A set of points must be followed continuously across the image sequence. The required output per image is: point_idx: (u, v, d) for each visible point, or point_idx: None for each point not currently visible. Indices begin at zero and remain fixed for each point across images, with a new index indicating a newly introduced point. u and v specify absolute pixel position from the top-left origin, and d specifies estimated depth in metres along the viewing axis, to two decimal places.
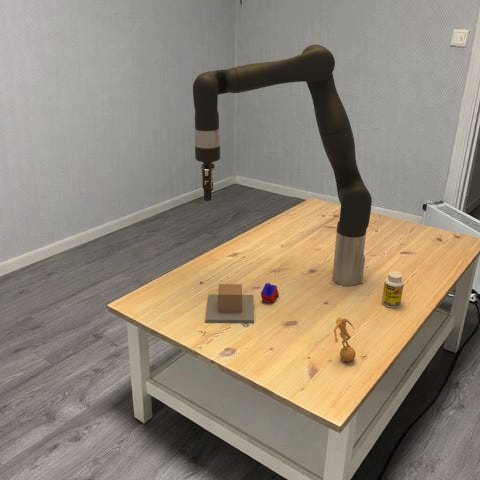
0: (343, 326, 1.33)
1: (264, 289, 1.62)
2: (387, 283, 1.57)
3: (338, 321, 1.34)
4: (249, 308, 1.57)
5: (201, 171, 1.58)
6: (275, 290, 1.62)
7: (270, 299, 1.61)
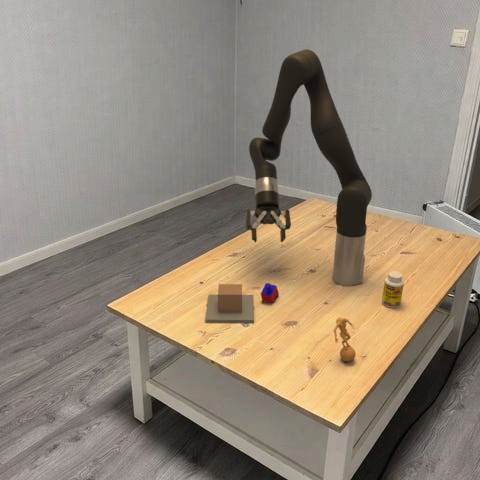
0: (343, 326, 1.33)
1: (264, 289, 1.62)
2: (387, 283, 1.57)
3: (338, 321, 1.34)
4: (249, 308, 1.57)
5: None
6: (275, 290, 1.62)
7: (270, 299, 1.61)
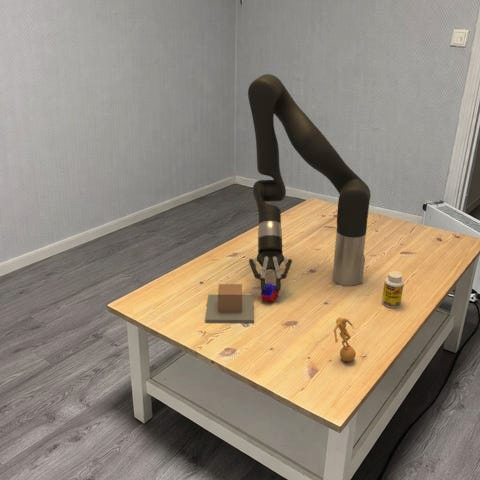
0: (343, 326, 1.33)
1: None
2: (387, 283, 1.57)
3: (338, 321, 1.34)
4: (249, 308, 1.57)
5: None
6: (275, 290, 1.62)
7: (270, 299, 1.61)
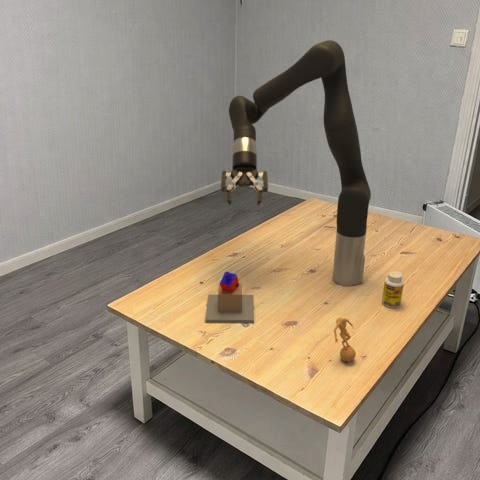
0: (343, 326, 1.33)
1: (223, 278, 1.53)
2: (387, 283, 1.57)
3: (338, 321, 1.34)
4: (249, 308, 1.57)
5: None
6: (235, 279, 1.54)
7: (230, 288, 1.53)
